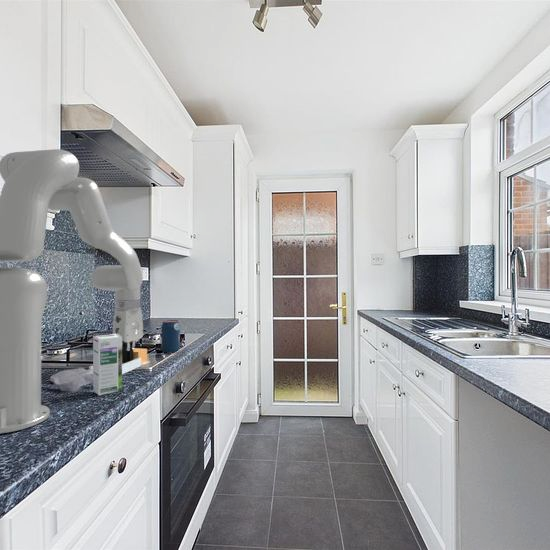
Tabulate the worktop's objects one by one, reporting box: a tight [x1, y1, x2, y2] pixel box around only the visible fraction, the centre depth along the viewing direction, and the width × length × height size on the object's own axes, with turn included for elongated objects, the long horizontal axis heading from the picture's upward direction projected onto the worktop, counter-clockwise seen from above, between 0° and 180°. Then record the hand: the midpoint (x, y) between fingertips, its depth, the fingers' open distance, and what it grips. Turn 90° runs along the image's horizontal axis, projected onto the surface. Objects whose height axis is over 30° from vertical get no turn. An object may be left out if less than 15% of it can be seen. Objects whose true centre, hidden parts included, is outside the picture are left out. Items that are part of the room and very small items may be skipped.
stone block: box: [49, 366, 93, 393], centre depth 97 cm, size 12×5×10 cm
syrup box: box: [92, 333, 123, 397], centre depth 92 cm, size 6×6×14 cm
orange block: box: [133, 347, 148, 363], centre depth 118 cm, size 5×5×4 cm
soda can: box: [160, 319, 181, 354], centre depth 139 cm, size 7×7×12 cm
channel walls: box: [88, 358, 142, 375], centre depth 108 cm, size 13×9×4 cm, turn 168°
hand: (127, 362), depth 114 cm, fingers closed
